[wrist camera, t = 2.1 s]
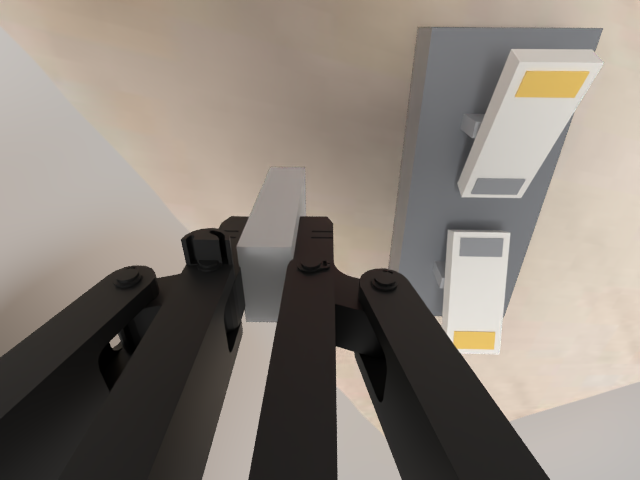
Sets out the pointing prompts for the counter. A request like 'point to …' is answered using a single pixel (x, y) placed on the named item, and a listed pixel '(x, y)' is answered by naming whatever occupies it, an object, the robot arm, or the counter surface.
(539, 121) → the rocker
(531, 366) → the counter surface
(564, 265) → the counter surface
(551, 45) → the switch unit
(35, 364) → the robot arm
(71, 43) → the counter surface
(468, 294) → the rocker
